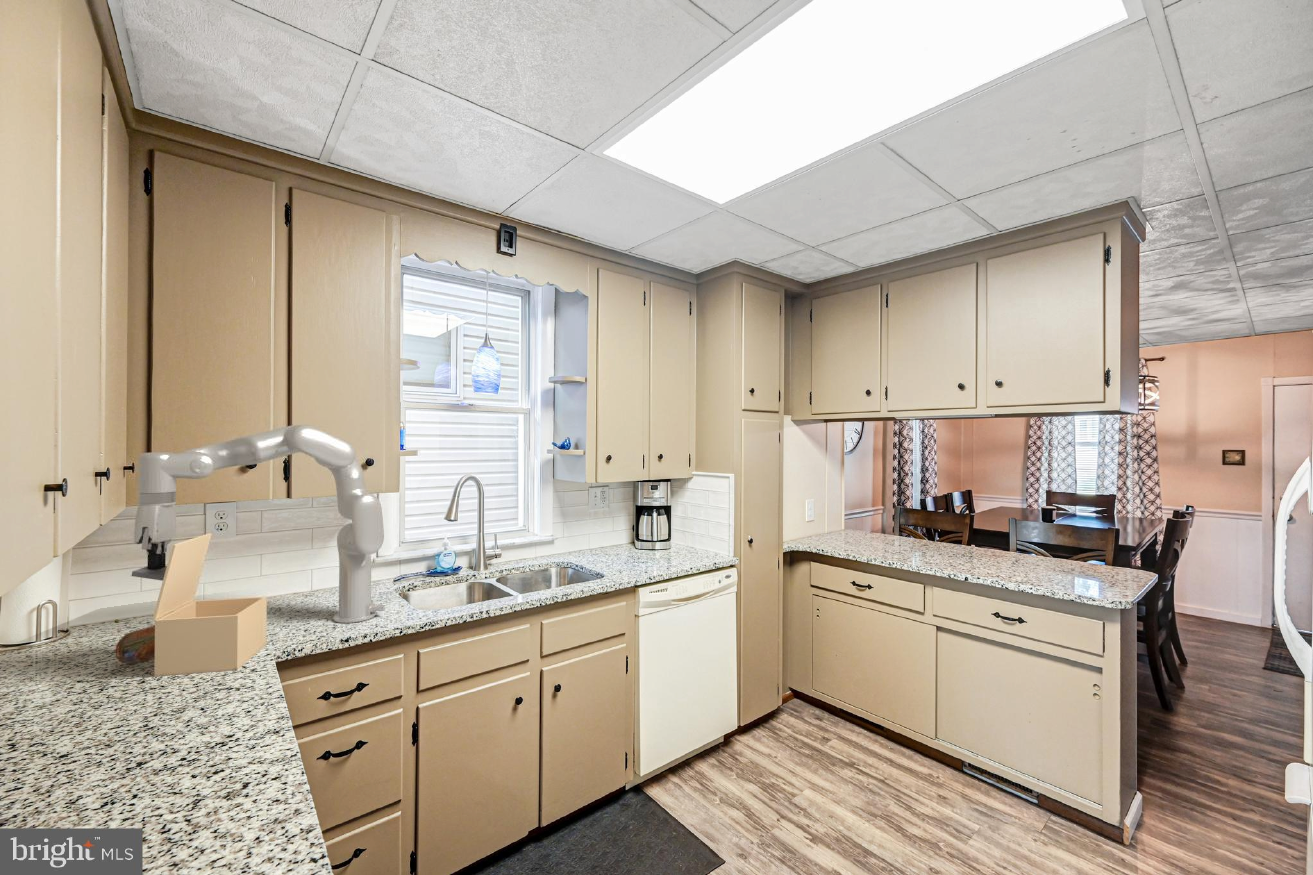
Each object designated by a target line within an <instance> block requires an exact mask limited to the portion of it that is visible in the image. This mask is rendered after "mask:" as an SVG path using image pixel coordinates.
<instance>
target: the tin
mask: <svg viewBox="0 0 1313 875" xmlns="http://www.w3.org/2000/svg"><path fill="white" fill-rule="evenodd" d="M115 657H116V659H117V660H118V661H119V662H120V663H123V664H129V665H135V664H136V665H137V664H140V663H144V662H145V661H148V660H151V659H153V658H154V659H155V624H153V625H150V626H147V627H143V628H140V629H137V630H133V631H131V632H128V633H126V634H125V635H124V636H121V638H120V639H119V641H118V642H117V644H116V646H115Z"/></svg>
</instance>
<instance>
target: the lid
mask: <svg viewBox="0 0 1313 875" xmlns="http://www.w3.org/2000/svg"><path fill="white" fill-rule="evenodd" d="M212 535H213V533H210V532H209V533H207V534H206V533H205V534H203V535H199V536H196V537H194V538H191V539H187V540H185V541H184V540H183V541H181V542H178V543H174V544H172V547H171V550H170V555H169V558H168V561H167V564H166V565H165V568H162V569H148V568H147V566H144V567H141V568H138V569H136V570H133V571H132V572H131V575H130V576H131V577H135V578H142V579H149V580H156V581H162V583H161V587H160V591H159V594H158V598H157V601H156V605H155V608H154V612H153V616H152V618H151V619H152V620H153V621H155V620H157V619H159V618H161V617H163V616H165V615H167V614H169V613H171V612H173V611H175V610H177V609H179V608H181V607H183V606H185V605H187V604H188V603H190V602H192V601H195V597H196V594H197V591H198V586H199V583H200V578H201V576H202V571H203V567H204V564H205V562H206V556H207V553H208V551H209V550H208V549H209V545H210V543H211V538H212Z"/></svg>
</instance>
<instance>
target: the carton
mask: <svg viewBox="0 0 1313 875" xmlns="http://www.w3.org/2000/svg"><path fill="white" fill-rule="evenodd" d="M267 600H268V597H267V596H257V597H256V596H254V597H240V598H222V599H221V598H219V599H202V600H200V599H199V600H193V601H191V602H189V603H187V604H185V605H183V606H181V607H179V608H177V609H175V610H173V611H171V612H170V613H168V614H166V615H164V616H162V617H160V618H158V619H156V620H154V625H155V657H154V676H153V677H164V676H177V675H179V676H180V675H190V674H201V673H213V672H227V671H237V670H239V669H241V667H243V665H244V664H246V663H247V662H248V661H250V660H251V659H252V658H254V656H255V655H256V654H258V653H259V652H260V651H261V650H263V649H264V648H265V647H266V646H267V624H268V623H267V619H268V618H267V614H268V611H267V608H268V607H267V606H268V604H267V603H268V602H267Z"/></svg>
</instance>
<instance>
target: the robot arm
mask: <svg viewBox="0 0 1313 875" xmlns="http://www.w3.org/2000/svg"><path fill="white" fill-rule="evenodd" d="M298 453H303V454H305V455H306V456H309V457H311V458H314V461H315V462H316V463H317V464H318V465H320V466H322V467H323V468H327V469H328V470H329V471H330V472H331V474H332V476H333V477H334V482H335V488H336V489H335V490H336V499H337V509H338V513H339V515H340V516H341V517H342V518H345V519H348V520H351V522H349V523H347V524H345V525H343V526H342V527H341V528H340V529H339V531H338V534H337V536H336V547H337V552H338V562H339V563H338V564H339V565H338V566H339V567H338V568H339V569H338V570H339V571H338V572H339V573H338V612H337V613H336V614H334V615H333V621H334V622H335V623H341V624H345V623H346V624H349V623H359V622H363V621H367V620H370V619H372V618H374V617H375V616H376V614H377V612H384V611H385V610H386V606H385V604H382V603H381V604H380V603H378V604H376V603H374V600H372V557H371V556H372V555H373V554H375V553H377V552H378V551H379V550H381V548H382V546H383V544H384V540H385V531H384V519H383V510H382V509H383V508H382V504H381V501H380V500H379V499H378V497H377V496H376V495H374V494H373V493H371V492H367V489H366V480H365V475H364V471H363V468H362V466H361V464H360V463H359V461H358V460H357V458H356V457H357V456H356V455H357V454H356V450H355V448H354V447H353V445H352V444H350V443H348V442H347V441H345V440H343V439H341V438H338V437H336V436H334V435H332V434H330V433H328V432H326V431H324V430H322V429H319V428H317V427H314V426H312V425H308V424H292V425H288V426H283V427H280V428H276V429H271V430H266V431H262V432H259V433H254V434H250V435H247V436H246V435H245V436H241V437H239V438H233V439H230V440H226V441H221V442H218V443H214V444H208V445H204V446H201V447H197V448H193V449H188V450H184V451H181V452H179V453H172V452H161V451H160V452H144V453H142V454H140V456H139V457H138V488H137V489H138V494H137V495H138V496H137V497H138V500H137V502H138V503H137V509H136V513H135V514H136V515H135V522H134V531H133V534H134V535H133V543H134V544H135V545H140V544H141V549H142V550H143V551H144V550H145V552H146V555H147V566H146V567H147V568H148V569H162V568H165V566H166V563H167V562H166V559H167V558H166V553H167V549H168V545H169V544H170V543H171V542H172V540H173V539H174V538H175V537H176V534H177V518H176V517H177V515H176V507H175V505H176V504H177V479H188V480H189V479H190V480H201V479H204V478H207V477H209V476H210V475H211V474H212V473H214V472H215V471H217V470H221V469H225V468H226V469H227V468H231V467H240V466H250V465H257V464H261V463H264V462H268V461H271V460H275V459H279V458H282V457H286V456H291V455H293V454H298Z"/></svg>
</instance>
